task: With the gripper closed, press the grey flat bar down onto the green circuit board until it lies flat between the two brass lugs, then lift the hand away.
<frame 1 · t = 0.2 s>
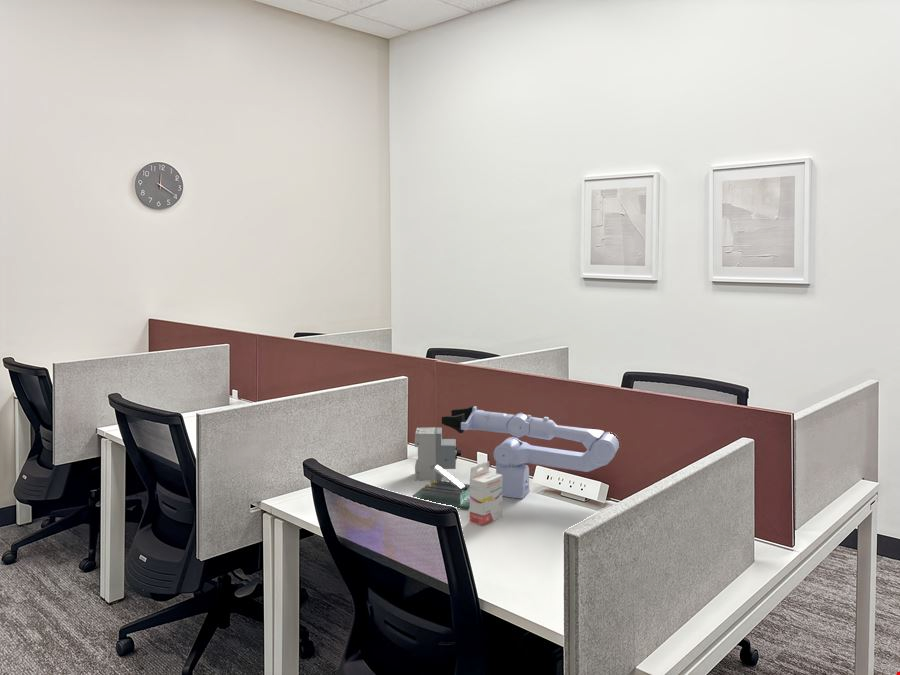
hand: (447, 416, 211), 21 cm above the table, tool horizontal, fingers open, 7 cm apart
grey flat bar: (449, 478, 201), point 6 cm above the table, hinge at 32.0°
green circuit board: (446, 498, 202), on the table
ink cartridge box: (486, 520, 186), on the table
circuit breaker: (438, 477, 221), on the table
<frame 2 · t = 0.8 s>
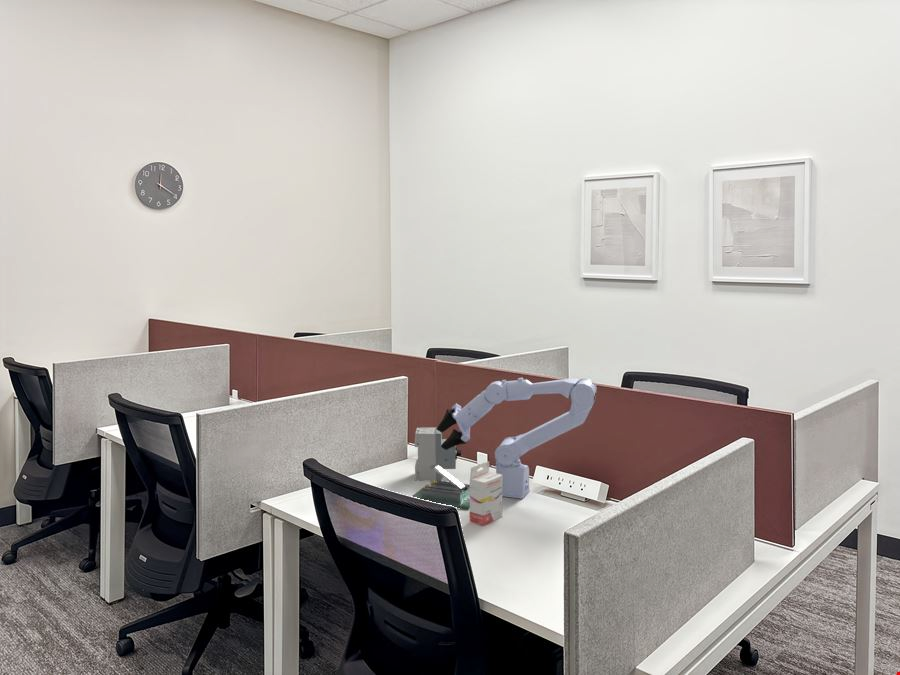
hand: (441, 439, 210), 15 cm above the table, tool tilted 50°, fingers open, 7 cm apart
nothing on the table moved.
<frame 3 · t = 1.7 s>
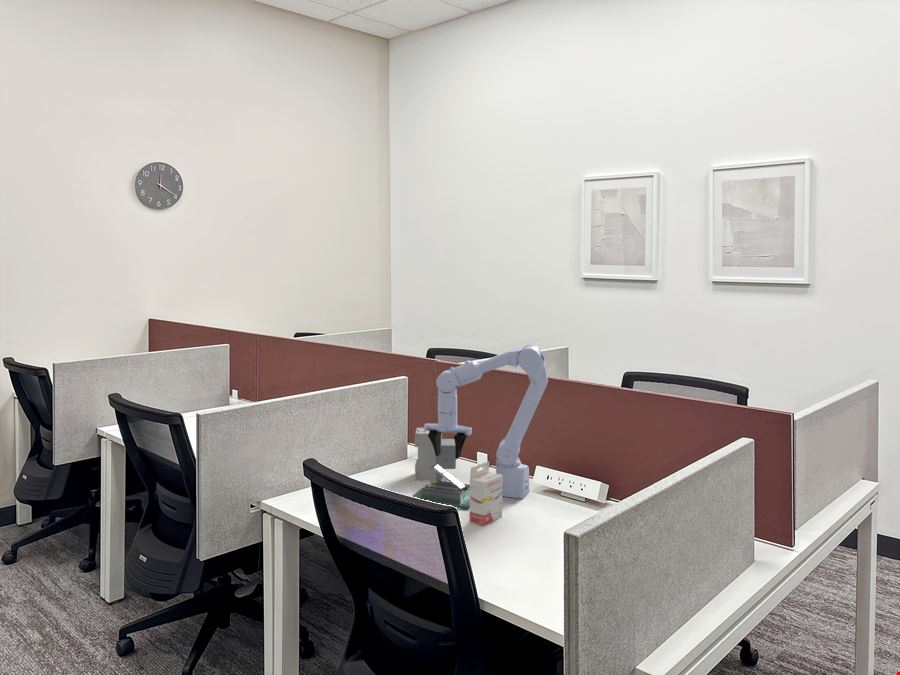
hand: (447, 456, 208), 10 cm above the table, tool pointing down, fingers open, 6 cm apart
nothing on the table moved.
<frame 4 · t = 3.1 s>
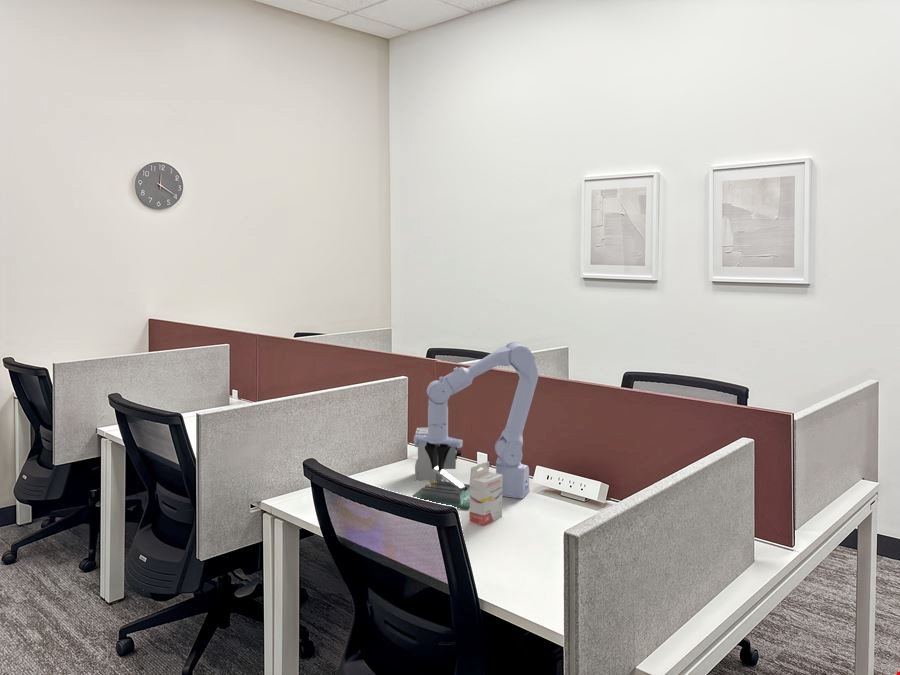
hand: (437, 469, 202), 8 cm above the table, tool pointing down, fingers closed
grey flat bar: (449, 478, 201), point 6 cm above the table, hinge at 30.7°, touching gripper
everything else where it was.
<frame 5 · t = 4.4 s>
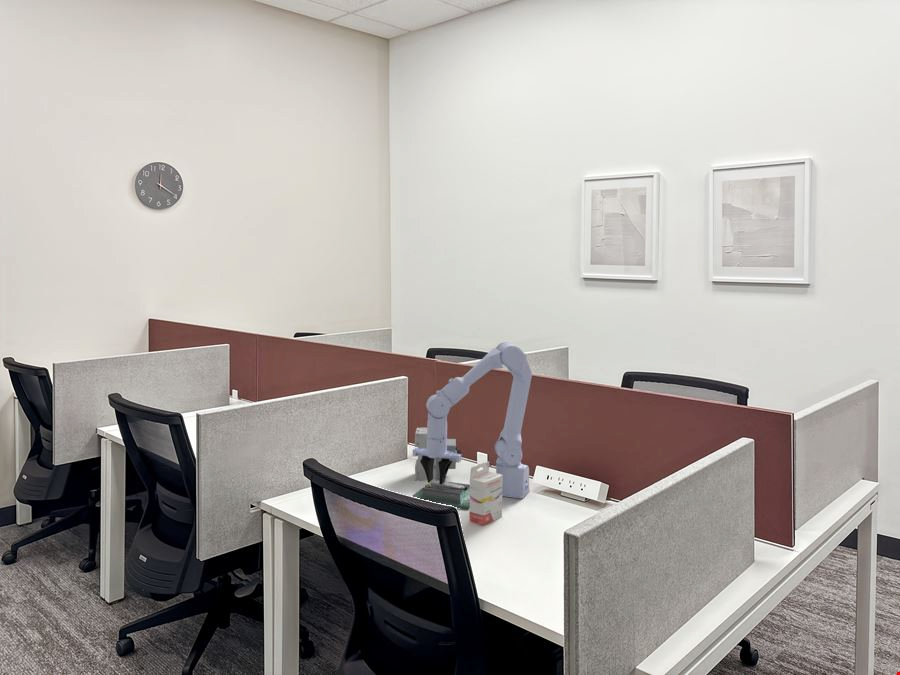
hand: (436, 482, 203), 4 cm above the table, tool pointing down, fingers closed on grey flat bar, 3 cm apart
grey flat bar: (447, 484, 201), point 4 cm above the table, hinge at 4.6°, touching gripper
everything else where it was.
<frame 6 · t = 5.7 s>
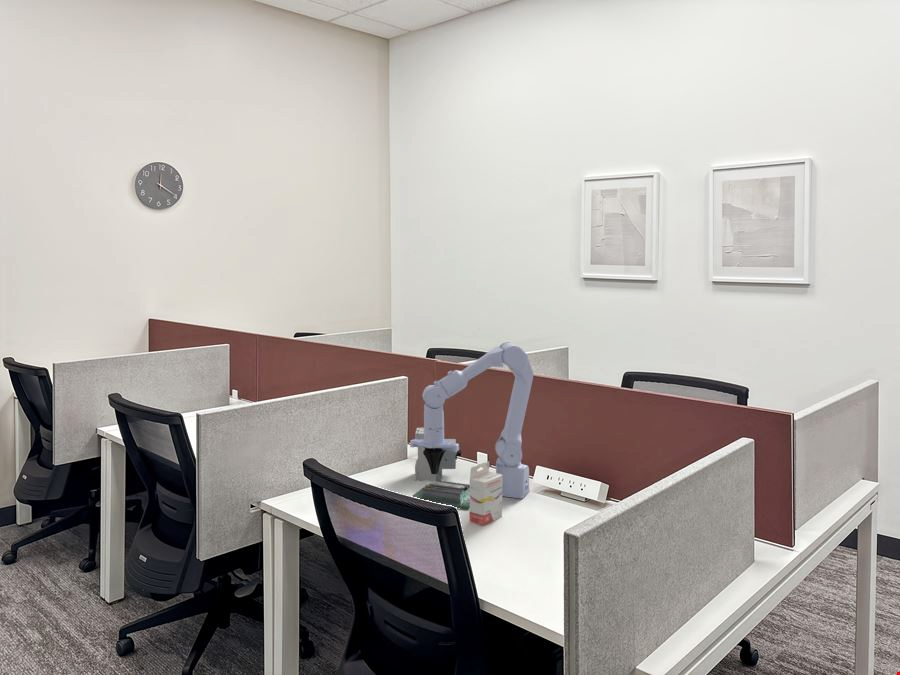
hand: (434, 473, 203), 7 cm above the table, tool pointing down, fingers closed
grey flat bar: (447, 485, 201), point 4 cm above the table, hinge at 1.7°
everything else where it was.
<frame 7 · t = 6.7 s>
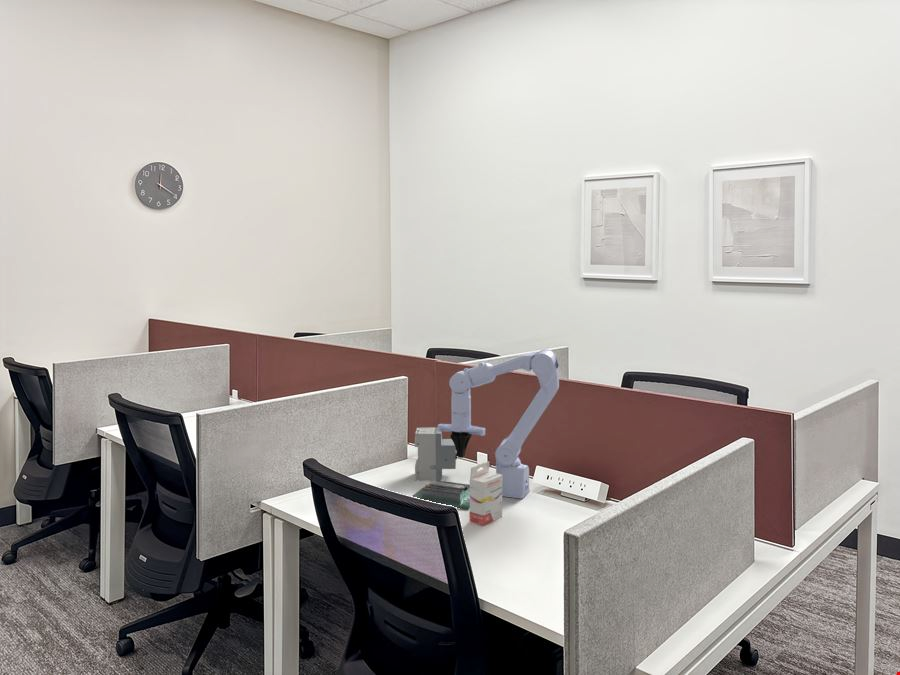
hand: (461, 456, 209), 10 cm above the table, tool pointing down, fingers closed
nothing on the table moved.
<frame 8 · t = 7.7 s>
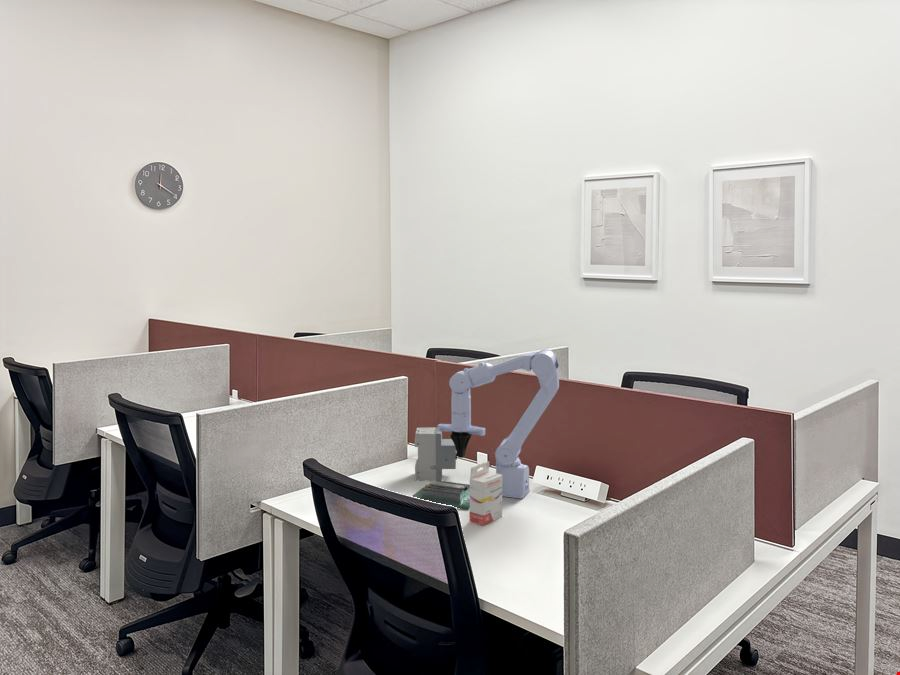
hand: (461, 456, 209), 10 cm above the table, tool pointing down, fingers closed
nothing on the table moved.
at the end: grey flat bar at +2° (first picture: +32°); grey flat bar touching nothing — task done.
